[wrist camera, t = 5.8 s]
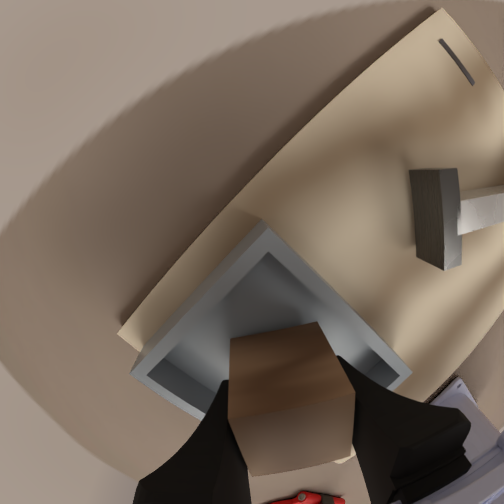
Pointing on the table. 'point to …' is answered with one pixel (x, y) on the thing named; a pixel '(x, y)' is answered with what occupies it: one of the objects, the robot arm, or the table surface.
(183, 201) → the table surface
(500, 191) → the crank lever
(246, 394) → the block
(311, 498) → the tow hook
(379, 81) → the base board
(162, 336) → the tray
